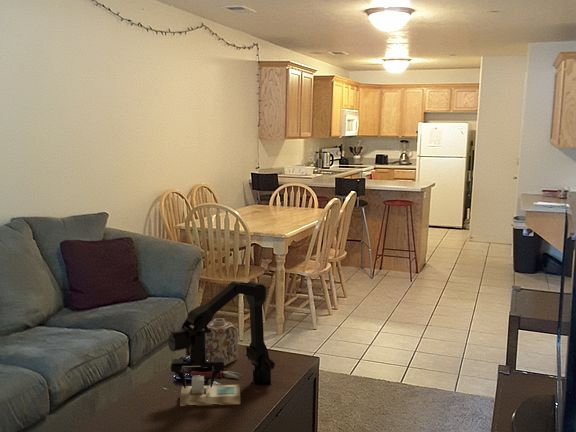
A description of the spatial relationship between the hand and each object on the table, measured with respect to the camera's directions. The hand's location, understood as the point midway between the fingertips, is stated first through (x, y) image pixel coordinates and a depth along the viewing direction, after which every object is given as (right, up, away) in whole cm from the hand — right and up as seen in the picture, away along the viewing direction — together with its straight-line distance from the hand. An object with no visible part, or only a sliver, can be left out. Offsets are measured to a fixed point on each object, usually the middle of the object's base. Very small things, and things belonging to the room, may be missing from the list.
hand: (198, 387), depth 220 cm
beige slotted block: (+5, -4, +1) cm, 7 cm away
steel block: (0, -4, +1) cm, 5 cm away
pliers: (+3, -2, +23) cm, 23 cm away
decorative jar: (+3, 0, +39) cm, 39 cm away
